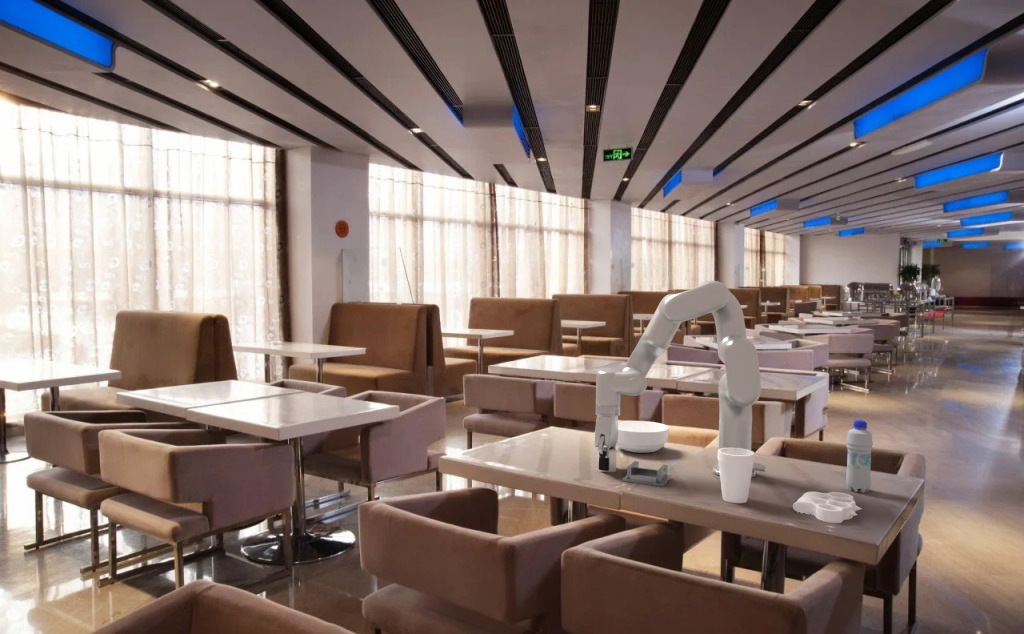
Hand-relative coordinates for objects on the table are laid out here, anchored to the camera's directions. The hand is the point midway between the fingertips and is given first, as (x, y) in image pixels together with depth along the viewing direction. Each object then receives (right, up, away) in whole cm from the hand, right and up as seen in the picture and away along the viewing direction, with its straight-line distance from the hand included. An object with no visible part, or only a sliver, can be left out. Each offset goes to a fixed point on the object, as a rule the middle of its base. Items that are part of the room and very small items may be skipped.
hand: (606, 467), depth 217 cm
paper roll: (0, -1, 0) cm, 1 cm away
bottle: (+68, -3, -19) cm, 71 cm away
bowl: (+15, 0, +26) cm, 30 cm away
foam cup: (+30, -3, -29) cm, 42 cm away
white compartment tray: (+52, -4, -38) cm, 64 cm away
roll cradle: (+11, -1, -11) cm, 15 cm away
